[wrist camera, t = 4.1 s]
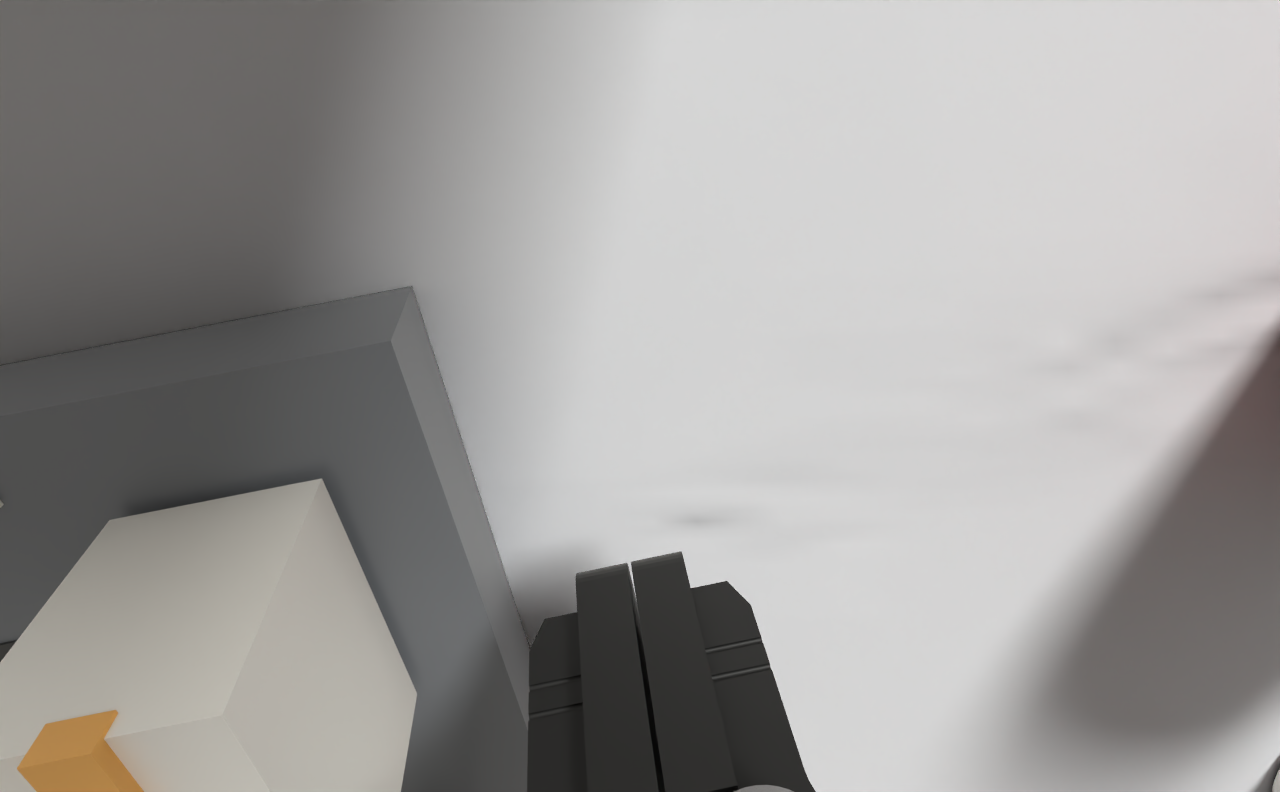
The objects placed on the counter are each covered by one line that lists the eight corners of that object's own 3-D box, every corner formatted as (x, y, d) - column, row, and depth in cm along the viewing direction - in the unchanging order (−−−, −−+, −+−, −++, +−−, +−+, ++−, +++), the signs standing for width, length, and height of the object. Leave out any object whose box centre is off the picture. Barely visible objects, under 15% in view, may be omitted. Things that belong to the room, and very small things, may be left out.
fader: (108, 516, 11) (-108, 793, 7) (320, 475, 11) (212, 729, 7) (241, 731, 13) (129, 1023, 10) (417, 695, 13) (371, 974, 10)
